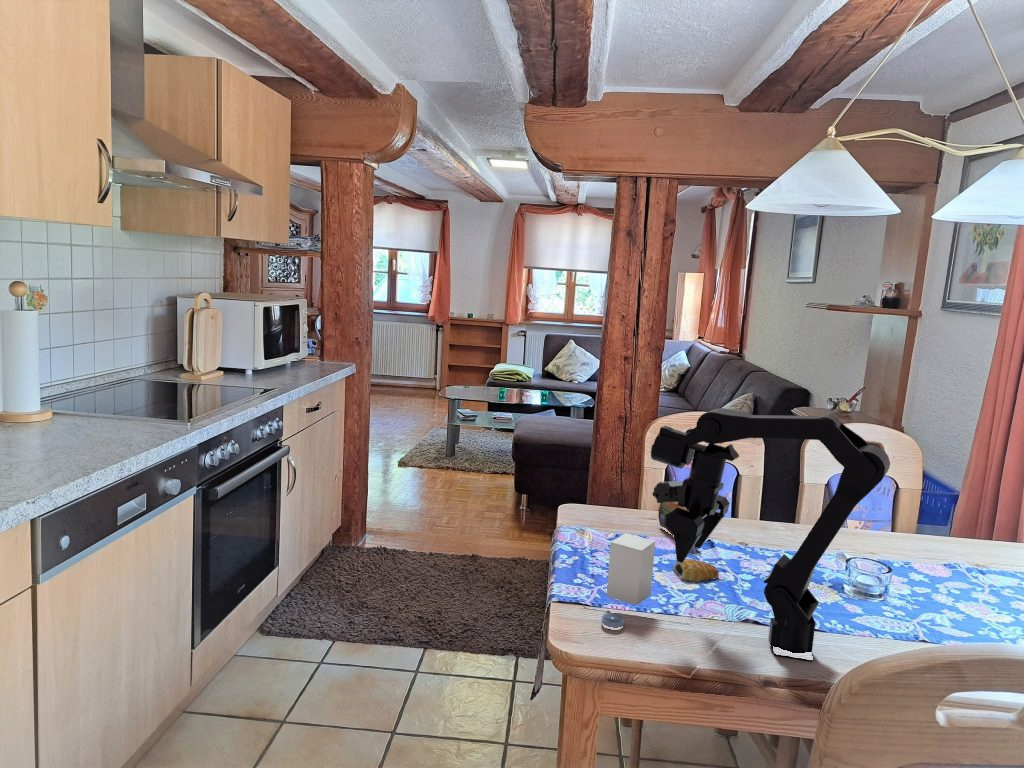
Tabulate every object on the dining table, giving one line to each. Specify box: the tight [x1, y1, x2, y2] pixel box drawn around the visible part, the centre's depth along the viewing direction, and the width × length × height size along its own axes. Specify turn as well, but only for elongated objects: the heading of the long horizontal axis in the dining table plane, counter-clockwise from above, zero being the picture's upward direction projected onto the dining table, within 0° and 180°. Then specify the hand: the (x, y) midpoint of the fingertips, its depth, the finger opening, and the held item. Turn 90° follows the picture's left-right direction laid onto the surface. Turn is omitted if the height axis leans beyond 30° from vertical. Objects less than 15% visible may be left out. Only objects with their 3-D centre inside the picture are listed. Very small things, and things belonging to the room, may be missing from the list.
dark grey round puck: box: [601, 612, 625, 628], centre depth 131 cm, size 4×4×2 cm
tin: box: [657, 502, 688, 535], centre depth 180 cm, size 15×3×8 cm, turn 17°
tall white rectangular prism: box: [607, 532, 656, 605], centre depth 142 cm, size 6×6×12 cm
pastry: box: [672, 558, 720, 582], centre depth 156 cm, size 9×7×4 cm
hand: (688, 554), depth 135 cm, fingers open, 9 cm apart
